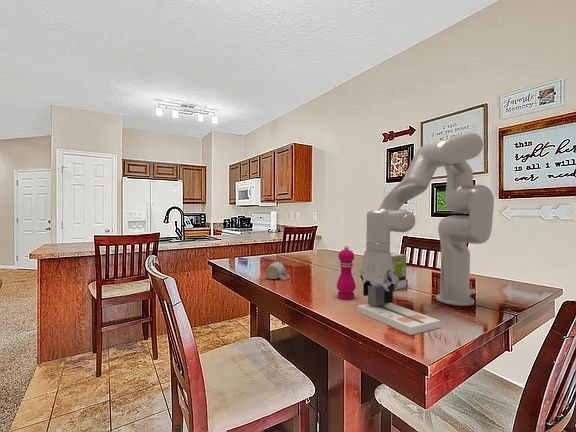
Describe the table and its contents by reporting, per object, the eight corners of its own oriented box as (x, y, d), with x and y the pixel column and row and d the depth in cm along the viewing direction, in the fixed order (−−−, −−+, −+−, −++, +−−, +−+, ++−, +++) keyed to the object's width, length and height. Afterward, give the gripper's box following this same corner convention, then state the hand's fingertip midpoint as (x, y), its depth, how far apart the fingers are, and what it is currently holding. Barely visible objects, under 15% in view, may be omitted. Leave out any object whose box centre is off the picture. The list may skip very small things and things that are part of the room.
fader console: (384, 306, 109) (384, 300, 109) (440, 327, 90) (440, 320, 90) (357, 311, 104) (357, 305, 104) (410, 335, 84) (410, 327, 84)
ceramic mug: (264, 279, 150) (265, 263, 150) (270, 276, 158) (270, 261, 157) (285, 281, 147) (286, 265, 147) (290, 278, 155) (291, 262, 155)
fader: (379, 301, 106) (379, 284, 106) (386, 304, 103) (387, 286, 103) (368, 303, 104) (368, 285, 104) (375, 306, 101) (375, 287, 101)
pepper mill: (355, 300, 116) (356, 246, 116) (336, 299, 117) (336, 246, 117) (355, 295, 123) (355, 244, 123) (336, 294, 124) (337, 244, 124)
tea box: (386, 293, 127) (386, 256, 126) (366, 288, 134) (366, 254, 134) (406, 287, 136) (407, 253, 136) (386, 283, 144) (386, 251, 144)
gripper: (352, 245, 109) (351, 294, 110) (389, 251, 94) (388, 307, 94) (368, 244, 113) (368, 291, 113) (406, 249, 97) (406, 304, 98)
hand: (377, 298), depth 104 cm, fingers open, 9 cm apart
